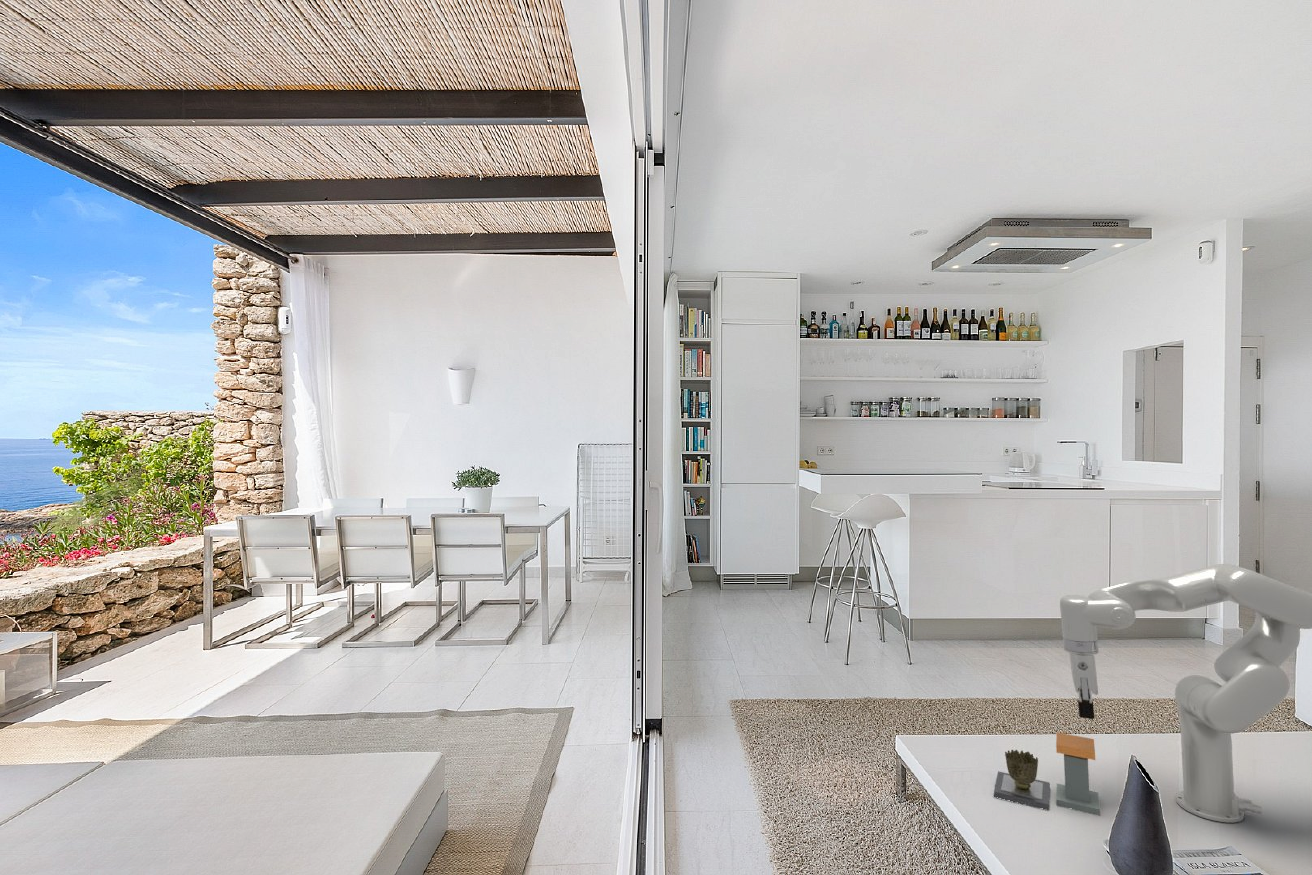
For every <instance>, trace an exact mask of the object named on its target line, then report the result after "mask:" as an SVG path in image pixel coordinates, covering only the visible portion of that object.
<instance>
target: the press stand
mask: <svg viewBox="0 0 1312 875" xmlns="http://www.w3.org/2000/svg"><path fill="white" fill-rule="evenodd" d="M1063 763H1064V764H1063V765H1064V784H1061V783H1058V782H1057V783H1056V787H1055V788H1056V790H1055V791H1056V792H1055V795H1056V796H1055V804H1056V805H1057V806H1056V807H1061V808H1065V809H1069V808H1072V809H1071V810H1073V809H1075V810H1074V811H1078V810H1079V811H1078V812H1082V813H1086V812H1088V813H1087V814H1092V815H1095V816H1100V817H1101V806H1100V805H1101V804H1100V796H1099V795H1100V794H1099V791H1095V790H1090V780H1089V778H1090V777H1089V775H1090V774H1089V759H1087V758H1082V757H1076V756H1071V755H1066V754H1063Z"/></svg>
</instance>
